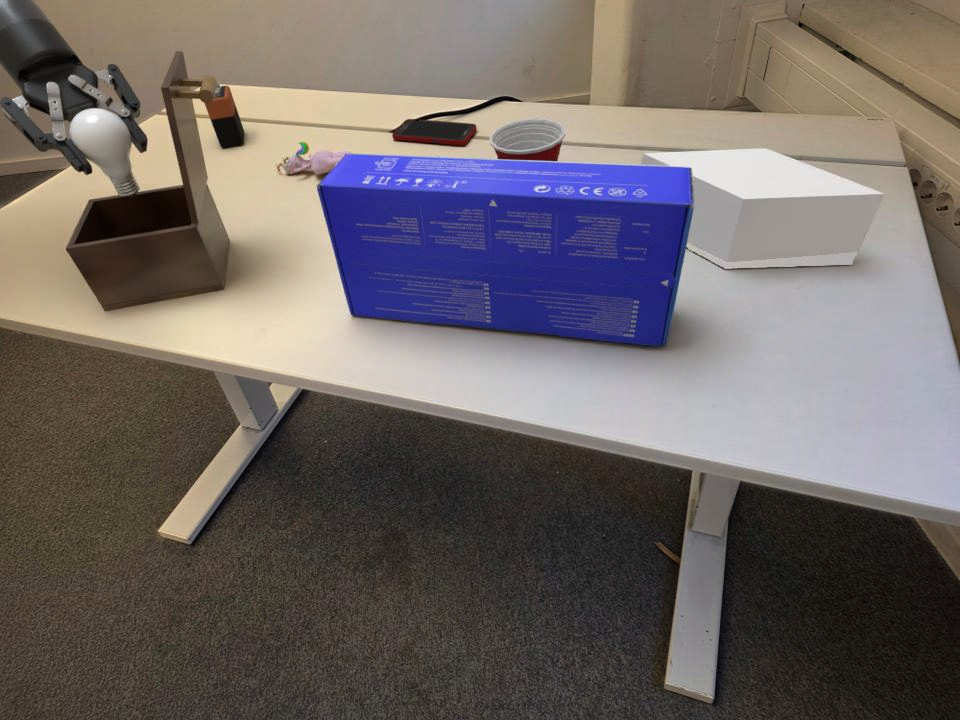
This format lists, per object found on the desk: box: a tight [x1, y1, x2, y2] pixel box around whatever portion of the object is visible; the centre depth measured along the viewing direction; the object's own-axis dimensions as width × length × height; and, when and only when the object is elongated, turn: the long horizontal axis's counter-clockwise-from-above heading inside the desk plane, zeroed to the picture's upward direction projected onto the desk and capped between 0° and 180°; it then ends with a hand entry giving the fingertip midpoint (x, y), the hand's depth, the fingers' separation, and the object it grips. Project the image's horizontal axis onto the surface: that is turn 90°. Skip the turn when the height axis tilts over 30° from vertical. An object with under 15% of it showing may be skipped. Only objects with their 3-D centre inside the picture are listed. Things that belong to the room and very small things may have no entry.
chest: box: [65, 183, 231, 312], centre depth 83 cm, size 16×13×10 cm
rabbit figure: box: [275, 141, 354, 175], centre depth 104 cm, size 6×6×15 cm
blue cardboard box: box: [316, 153, 694, 347], centre depth 69 cm, size 39×8×18 cm, turn 77°
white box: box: [640, 147, 885, 262], centre depth 80 cm, size 14×29×10 cm, turn 62°
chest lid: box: [160, 50, 218, 224], centre depth 75 cm, size 16×13×5 cm
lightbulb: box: [68, 108, 141, 197], centre depth 74 cm, size 6×6×11 cm
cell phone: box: [391, 118, 477, 146], centre depth 114 cm, size 8×15×1 cm, turn 72°
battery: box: [204, 83, 245, 149], centre depth 114 cm, size 4×7×10 cm, turn 15°
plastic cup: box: [489, 118, 567, 162], centre depth 89 cm, size 11×11×12 cm
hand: (117, 159), depth 74 cm, fingers closed on lightbulb, 6 cm apart
